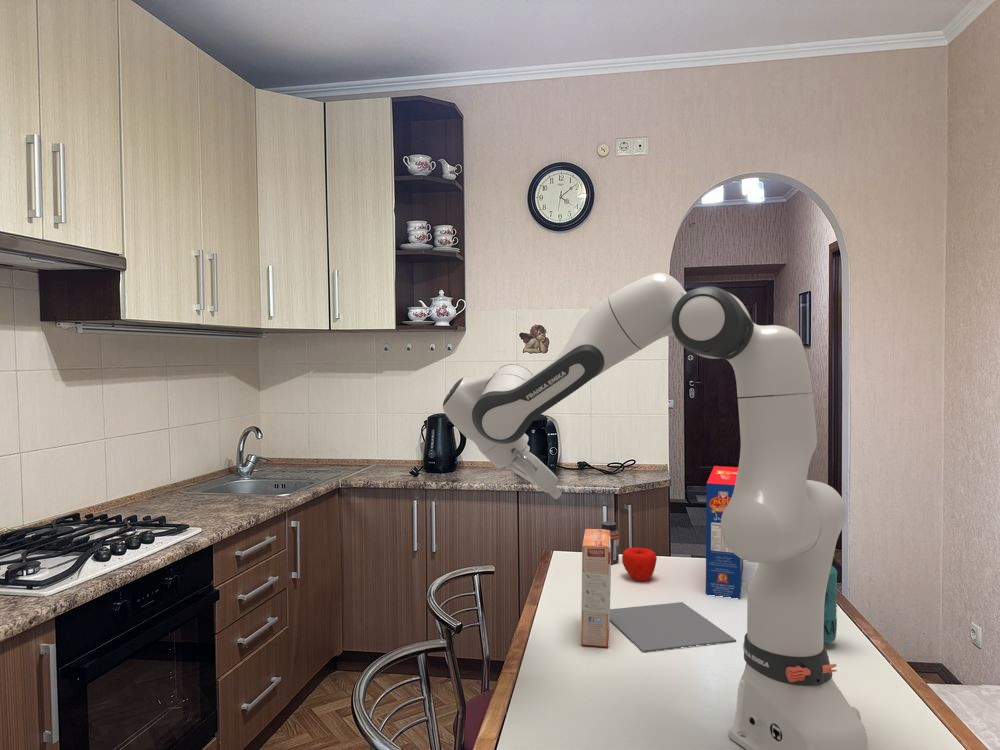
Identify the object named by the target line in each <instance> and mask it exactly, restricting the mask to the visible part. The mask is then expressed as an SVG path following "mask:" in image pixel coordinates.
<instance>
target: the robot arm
mask: <svg viewBox="0 0 1000 750" xmlns="http://www.w3.org/2000/svg"><path fill="white" fill-rule="evenodd" d="M669 336H674V337H675V338H676V340H677V341H678V342H679V343H680V346H682V347H684V348H685V349H686V350H688V351H690V352H691V353H694V354H695V355H697V356H698V357H699V356H700V357H702V358H706V359H714V360H715V359H717V360H726V361H728V362H729V364H730V365H731V366H732V369H733V371H734V377H735V382H736V395H737V406H738V421H739V436H740V452H739V460H738V461H739V462H738V465H737V467H738V472H737V477H736V483H735V487H734V491H733V495H732V497H731V500H730V502H729V503H728V505H727V507H726V508H725V510H724V512H723V514H722V518H721V531H722V535H723V538H724V540H725V542H726V544H727V546H728V547H729V549H730V550H731V551H732V552H733V553H734V554H735V555H737V556H738V557H739V558H741V559H743V561H746V562H748V563H757V564H758V565H757V568H756V570H755V573H754V575H753V576H752V578H751V580H750V582H749V584H748V586H747V597H746V598H747V599H746V600H747V605H746V606H747V607H746V608H747V609H746V610H747V615H746V619H747V621H746V622H747V623H746V628H747V630H746V633H745V634H744V640H743V645H742V648H743V649H742V650H743V660H744V661H745V666H744V669H743V672H742V675H741V678H740V679H739V682H738V688H737V696H736V697H737V698H736V709H735V716H734V717H735V718H734V722H733V724H732V725H731V726H730V727H729V731H728V737H729V738H730V739H731V740H733V742H736V743H737V744H738V745H740V746H741V747H742V748H743V749H745V750H869V742H868V741H869V740H868V735H867V731H866V727H865V725H864V723H863V722H862V718H861V713H860V711H859V709H858V708H857V707H855V706H851V704H850V703H849V701H848V700H847V699H846V697H845V695H844V694H843V693H842V691H841V690H840V688H839V687H838V685H837V683H836V682H835V681H834V679H833V673H835V672H837V671H838V670H837V669H834V668H836V667H837V663H833V664H832V663H831V662H830V657H829V654H828V652H827V648H826V645H825V644H824V643H823V642H824V602H825V593H826V587H827V583H828V578H829V574H830V570H831V565H832V566H833V561H834V560H833V559H834V556H835V552H836V548H837V547H836V546H837V542H838V540H839V536H840V534H841V532H842V529H843V527H844V526H845V525H846V521H847V507H846V504H845V501H844V500H843V498H842V496H841V495H840V494H839V492H838V491H837V490H836V489H835V488H834V487H832V486H831V485H828V484H827V483H825V482H822V481H817V480H814V479H813V480H812V479H808V474H809V468H810V463H811V459H812V457H813V454H814V452H815V451H816V448H817V444H818V435H817V425H816V422H817V421H816V412H815V403H814V393H813V384H812V378H811V377H812V376H811V371H810V367H809V362H808V359H807V354H806V351H805V347H804V344H803V342H802V338H801V337H800V335H799V334H798V333H797V332H796V331H795V330H794V329H791V328H790V327H786V326H782V325H777V324H776V325H774V324H770V325H759V324H757V323H755V322H754V321H753V317H752V315H751V313H750V312H749V310H748V308H747V307H746V306H745V304H744V303H743V302H742V301H741V300H740V299H739V297H737V296H736V295H733V294H732V293H730V292H729V291H726V290H725V289H722V288H720V287H716V286H701V287H700V286H699V287H697V288H694V289H691V290H689V291H688V292H687V291H686V290H685V289H684V287H683V286H682V284H681V283H680V281H678V280H677V279H676V278H674V277H673V276H672V275H670V274H668V273H666V272H654V273H652V274H649V275H646V276H644V277H642V278H639V279H637V280H634V281H632V282H631V283H628V284H627V285H625V286H623V287H621V288H619V289H617V290H616V291H614V292H613V293H611V294H609V295H608V296H607V297H605V298H603V299H602V300H600V301H599V302H597V303H596V304H595V305H594V306H593V307H592V308H590V309H589V310H588V311H587V312H586V313H585V314H584V315H583V316H582V317H581V318H580V319H579V320H578V322H577V324H576V326H575V328H574V329H573V332H572V334H571V336H570V337H569V339H568V341H567V342H566V344H565V346H564V347H563V348H562V350H561V351H560V353H559V354H558V355H557V356H556V357H555V358H554V359H553V360H552V361H551V362H550V363H549V364H547V365H546V366H544V367H543V368H542V369H540V370H539V371H537V372H536V373H534V374H533V373H532V372H531V371H530V370H529V369H528V368H526V367H524V366H522V365H519V364H514V363H513V364H510V363H509V364H505V365H502V366H500V367H499V368H498V369H496V370H493V371H491V372H489V373H486V374H482V375H478V376H474V377H469V376H467V377H462V378H460V379H459V380H458V381H457V382H455V383H454V384H453V386H452V388H451V389H450V390H449V392H448V393H447V394H446V396H445V398H444V400H443V402H442V410H443V412H444V414H445V416H446V417H447V419H448V420H449V421H450V422H451V424H453V425H454V427H455V428H456V429H457V431H459V432H460V433H461V434H462V435H463V436H464V437H465V438H466V439H468V440H470V441H472V442H473V443H474V444H475V445H476V446H477V449H478V450H479V452H480V453H481V454H482V455H483V456H484V457H485V458H486V459H487V460H488V461H489V462H491V463H492V465H494V466H495V467H496V468H497V469H503V468H505V469H506V470H511V471H512V472H513V473H515V474H516V475H518V476H520V477H521V478H523V479H524V480H525V481H528V482H529V483H530V484H532V485H533V486H535V487H537V488H538V489H540V490H541V491H542V492H544V493H545V494H549V495H550V496H551V497H552V498H553V499H555V500H559V498H560V497H562V491H561V490H560V489H559V488H558V487H557V486H556V483H557V482H558V481H559V479H558V476H556V474H555V473H554V472H553V471H552V470H551V469H550V468H549V467H548V466H547V465H546V464H544V463H543V461H542V460H540V459H539V458H538V457H537V456H536V455H535V454H533V453H532V452H531V451H530V448H531V447H530V445H528V442H529V439H530V438H529V435H528V434H526V433H527V431H528V429H529V427H530V426H531V424H532V423H533V421H534V420H535V419H537V418H538V417H539V416H540V415H542V414H543V413H545V412H546V411H548V410H550V409H551V408H553V406H555V405H556V404H558V403H560V402H562V401H563V400H564V399H566V398H567V397H569V396H570V395H572V394H573V393H574V392H576V391H578V390H579V389H580V388H582V387H583V386H585V384H587V383H589V382H590V381H592V380H593V379H594V378H596V377H598V376H600V375H601V374H603V373H604V372H606V371H607V370H609V369H611V368H612V367H614V366H616V365H618V364H619V363H621V362H622V361H624V360H626V359H627V358H630V357H632V356H633V355H635V354H637V353H638V352H639V351H641V350H644V349H645V348H647V347H648V346H649V345H651V344H653V343H654V342H656V341H658V340H660V339H663V338H666V337H669Z"/></svg>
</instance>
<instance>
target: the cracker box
mask: <svg viewBox="0 0 1000 750" xmlns="http://www.w3.org/2000/svg"><path fill="white" fill-rule="evenodd" d="M583 535H584V536H583V539H582V540H583V541H582V548H581V549H582V550H581V552H582V553H581V554H582V555H581V606H580V607H581V609H580V610H581V614H580V615H581V620H580V624H581V625H580V627H581V628H580V629H581V630H580V635H581V636H580V642H581V644H580V645H581V646H587V647H588V646H589V647H600V648H609V640H610V639H609V637H610V623H611V622H610V609H611V581H612V580H611V575H612V573H611V571H612V570H611V568H612V566H611V565H612V564H611V539H610V530H605V529H602V528H600V529H599V528H585V529H584V534H583Z"/></svg>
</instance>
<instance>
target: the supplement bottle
mask: <svg viewBox="0 0 1000 750" xmlns="http://www.w3.org/2000/svg"><path fill="white" fill-rule="evenodd" d="M601 529H605V530H610V539H611V565H614V564H617V563H619V561H620V560H619V558H620V557H619V555H620V554H619V553H620V532H619V530H617V526H616V522H614V521H608V520H607V521H602V522H601Z"/></svg>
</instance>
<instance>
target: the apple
mask: <svg viewBox="0 0 1000 750" xmlns="http://www.w3.org/2000/svg"><path fill="white" fill-rule="evenodd" d="M621 556H622V557H621V559H622V565H623V567H624V570H625V571H626V572H627V574H628V576H629V577H630V578H631V579H633V580H635V581H639V582H642V581H643V582H646V580H647V581H649V580H650V579H651V578H652V576H653V574H654V572H655V570H656V569H655V568H656V563H657V560H658V557H657V554H656V553H655V551H654V550H652V549H648V548H646V547H628V548H626V549H625V550H624V551H623V552H622V555H621Z"/></svg>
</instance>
